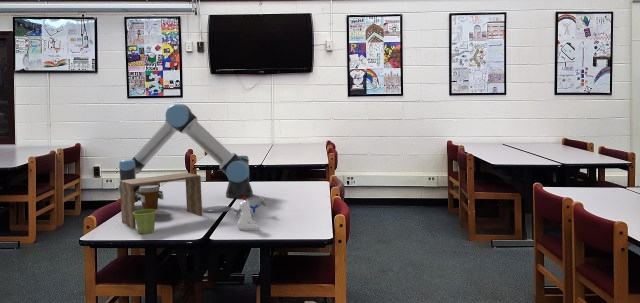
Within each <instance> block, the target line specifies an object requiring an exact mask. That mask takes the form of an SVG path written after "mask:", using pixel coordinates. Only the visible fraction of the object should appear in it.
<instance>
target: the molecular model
mask: <svg viewBox="0 0 640 303" xmlns="http://www.w3.org/2000/svg"><path fill="white" fill-rule="evenodd" d="M242 200H243V201H244V200H245V201H247V197H246V196H243V198H242ZM249 206H250V208H251V209H250V210H252V215H253V216H254V217H255V216H256V215H257V214H256V209H257V208H259V207H260V206H264V207H265V208H267V209H269V205H268V204H267V203H265V198H264V197H263V196H262V195H260V196H259V202H258V203H257V204H255V205H254V206H253V205H251V204H250V205H249ZM229 211H231V212H234V213H236V217H237V218H238V220H239V219H240V216H241V213H242V211H241V209H240V208H239V209H235V208H234V207H231V208H230V210H229Z"/></svg>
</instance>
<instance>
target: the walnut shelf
mask: <svg viewBox="0 0 640 303" xmlns="http://www.w3.org/2000/svg"><path fill="white" fill-rule="evenodd" d="M201 179H202V177H201V175H199V174H195V173H192V172H191V173H190V172H183V173H174V174H163V175H157V176H147V177H139V178H136V179H129V180H121V181H120V180H119V185H120V193H119V194H120V210H121V223H122V222H123V223H122V224H124V223H125V224H124V225H126V224H127V225H126V226H128V225H129V226H128V227H130V228H132V229H137V224H136V219H135V217H134V214H133V212H135V211H136V207H135V200H134V188H133V186H139V185H140V186H145V185H156V184H161V183H168V182H177V181H178V182H179V181H185V195H186V196H185V197H186V212H188V213H192V214H194V215H197V216H200V217H202V216H203V204H202V203H203V200H202V199H203V198H202V180H201Z"/></svg>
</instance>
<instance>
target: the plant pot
mask: <svg viewBox="0 0 640 303" xmlns="http://www.w3.org/2000/svg"><path fill="white" fill-rule="evenodd" d="M157 212H158V209H157V210H155V209H144V210H143V209H139V210H135V212H133V214H134V217H135V222H136V229H137V233H138V234H143V235H146V234H151V233H153V232H155V226H156V222H155V221H156V216H157Z"/></svg>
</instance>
